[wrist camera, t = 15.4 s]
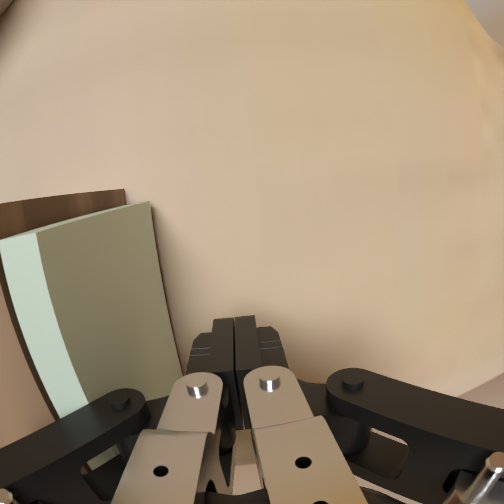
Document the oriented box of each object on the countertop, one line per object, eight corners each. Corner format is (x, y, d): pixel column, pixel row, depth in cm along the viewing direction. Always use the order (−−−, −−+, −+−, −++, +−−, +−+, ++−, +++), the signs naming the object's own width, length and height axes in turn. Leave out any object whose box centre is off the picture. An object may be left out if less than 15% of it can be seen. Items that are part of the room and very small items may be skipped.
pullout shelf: (14, 378, 16) (-52, 456, 7) (-30, 237, 14) (-134, 276, 4) (185, 385, 16) (162, 524, 7) (149, 201, 14) (35, 232, 5)
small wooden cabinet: (10, 381, 17) (-56, 459, 7) (-37, 227, 14) (-142, 262, 4) (166, 390, 17) (133, 528, 7) (123, 188, 14) (-14, 206, 5)
